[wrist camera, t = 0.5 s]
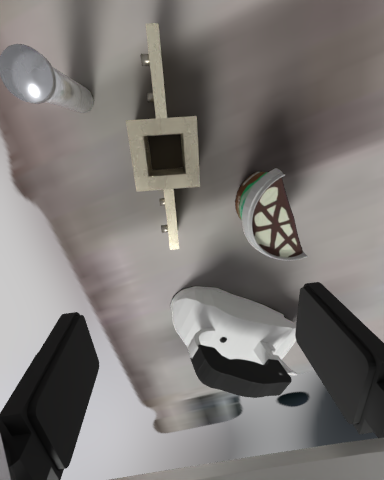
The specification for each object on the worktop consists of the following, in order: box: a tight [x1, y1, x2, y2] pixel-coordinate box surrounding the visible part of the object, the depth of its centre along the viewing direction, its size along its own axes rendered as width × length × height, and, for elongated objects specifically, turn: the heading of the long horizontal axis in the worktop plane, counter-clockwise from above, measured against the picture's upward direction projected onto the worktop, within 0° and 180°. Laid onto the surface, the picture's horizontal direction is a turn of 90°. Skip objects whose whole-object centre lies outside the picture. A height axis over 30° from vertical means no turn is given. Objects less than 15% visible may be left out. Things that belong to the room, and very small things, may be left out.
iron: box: [170, 286, 297, 398], centre depth 40 cm, size 11×24×15 cm, turn 65°
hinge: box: [126, 23, 200, 250], centre depth 30 cm, size 24×8×7 cm, turn 4°
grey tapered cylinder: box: [0, 44, 94, 113], centre depth 25 cm, size 4×4×13 cm
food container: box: [235, 168, 308, 261], centre depth 33 cm, size 12×6×10 cm, turn 24°
